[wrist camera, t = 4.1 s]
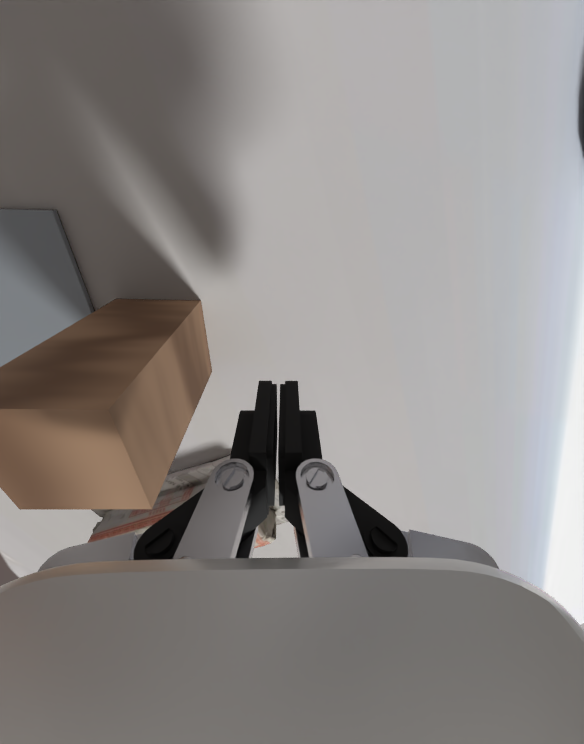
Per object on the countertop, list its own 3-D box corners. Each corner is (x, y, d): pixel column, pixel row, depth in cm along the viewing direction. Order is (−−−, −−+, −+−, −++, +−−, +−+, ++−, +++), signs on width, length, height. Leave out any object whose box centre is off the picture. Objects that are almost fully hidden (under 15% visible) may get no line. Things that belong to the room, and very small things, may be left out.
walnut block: (200, 300, 16) (108, 409, 8) (212, 371, 19) (151, 509, 11) (115, 299, 16) (-70, 408, 8) (139, 370, 19) (19, 509, 10)
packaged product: (135, 591, 28) (55, 546, 23) (154, 541, 32) (91, 493, 27) (299, 556, 24) (247, 493, 19) (298, 504, 28) (254, 442, 24)
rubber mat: (56, 210, 14) (51, 210, 14) (135, 419, 21) (133, 422, 21) (-194, 203, 13) (-203, 204, 13) (-24, 418, 21) (-28, 421, 21)
